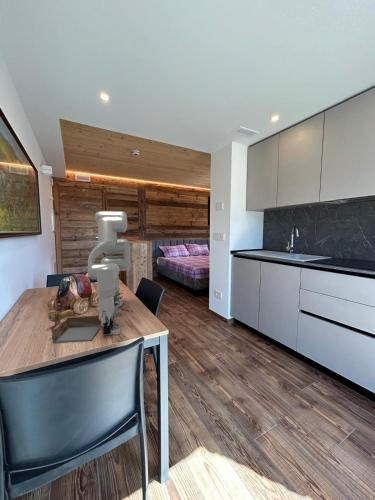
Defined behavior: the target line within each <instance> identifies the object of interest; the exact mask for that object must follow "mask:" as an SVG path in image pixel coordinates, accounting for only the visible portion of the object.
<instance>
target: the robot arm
mask: <svg viewBox="0 0 375 500" xmlns="http://www.w3.org/2000/svg"><path fill="white" fill-rule="evenodd" d="M94 219H95V221H96V224H97V244H96V246H94V248H93V249H92V250H91V251H90V253H89V255H88V260H87V275H88V278H89V279H90V280H94V281H96V283H97V284H96V285H97V298H98V315H99V320H101V325H102V335H103V334H110V333H111V330H110V326H114V317H113V313H114V296H115V292H116V291H117V290H118V289H119V288H120V289H119V291H118V292H119V294H120V295H118V296H117V297H118V298H121V293H120V291H121V287H120V277H119V274H120V272H121V271H123V272H124V271H128V270H130V269H131V248H130V243H129V240H128V239H127V238H118V235H117V233H125V232H126V231H127V229H128V216H127V213H126V212H125V211H120V210H101V211H100V210H99V211H97V212H96V213H95V214H94ZM102 253H104V254H105V255H108V256H105V257H104V256H103V258H102V259H101V260H100V263H95V261H96V259H97V258H98V256H99V255H101V254H102ZM116 287H117V288H116ZM115 288H116V290H115ZM118 292H117V293H118ZM117 297H116V298H117ZM116 298H115V299H116ZM118 298H117V299H118ZM118 300H119V301H116V303H118V308H120V307H121V306H123V304H124V303H123V301H121V299H118ZM106 317H108V318H107V319H106ZM106 320H108V322H107V321H106ZM109 323H110V325H109Z"/></svg>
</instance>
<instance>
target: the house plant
mask: <svg viewBox="0 0 375 500" xmlns="http://www.w3.org/2000/svg"><path fill="white" fill-rule="evenodd" d="M116 288H117V287H116ZM116 288H115V290H116ZM119 289H120V294H119V292H118V291H119ZM119 289H118V290H117V291H116V292H115V296H114V313H113V318H114V317H117V315H118V310H119V307H118V303H116V301H119V300H118V299H120V300H121V299H122V298H123V297H124V296H123V295H122V294H124V292H123V291H125V290H121V287H120V288H119ZM117 292H118V293H117ZM118 295H120V296H121V295H122V296H121V297H120V298H118V297H117V296H118ZM116 297H117V298H118V299H117V298H116ZM115 298H116V299H115Z"/></svg>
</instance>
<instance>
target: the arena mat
mask: <svg viewBox="0 0 375 500" xmlns="http://www.w3.org/2000/svg"><path fill="white" fill-rule="evenodd" d="M101 328H102V325H101V326H94V327H75V328H68V329H67V330H66V331H65V332H64V333H63V334H62V335H61V336H60V337H59V338H58V339H57V340H56V341H53V340H52V344H60V343H61V344H62V343H74V342H75V343H78V342H79V343H80V342H91V341H93V340H94V338H95V337H96V335H97V334H98V332H99V331H100V329H101Z"/></svg>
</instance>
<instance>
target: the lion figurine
mask: <svg viewBox="0 0 375 500" xmlns="http://www.w3.org/2000/svg"><path fill="white" fill-rule="evenodd" d="M66 317H77V315H76V312H75V310H73V309H67V310H64V311H59V310H53V309H52V310H49V311H48V313H47V318H48V321H51V322H52V323H54V325H53V327H56V326H57V325H58V324H59V323H60V322H62V320H64V319H65V318H66Z"/></svg>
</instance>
